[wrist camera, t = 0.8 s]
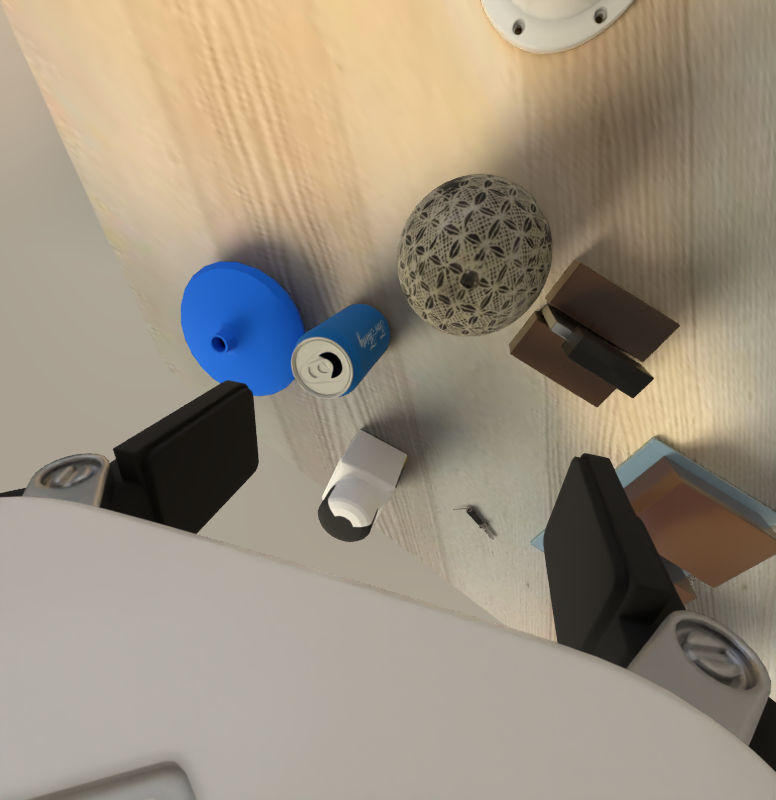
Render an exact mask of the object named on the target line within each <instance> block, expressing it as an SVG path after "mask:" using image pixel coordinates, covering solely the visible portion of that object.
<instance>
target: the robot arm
mask: <svg viewBox="0 0 776 800" xmlns="http://www.w3.org/2000/svg"><path fill="white" fill-rule="evenodd" d="M633 1H634V0H481V3H482V6H483V10H484V11H485V13H486V15H487V17H488V19H489V21H490V23H491V25H492V26H493V27H494V28H495V30H496V31H497V32H498V33H499V34H500V35H501V37H502V38H504V39H505V40H506V41H508V42H509V43H510V44H512V45H513V46H515V47H517V48H519V49H522V50H525V51H527V52H531V53H540V54H551V53H559V52H564V51H567V50H570V49H573V48H575V47H578V46H581V45H582V44H584V43H586V42H588V41H589V40H591V39H593V38H595V37H596V36H598V35H599V34H601V33H602V32H603V31H604V30H606V29H607V28H608V27H609V26H611V25H612V24H613V23H614V22H615V21H616V20H617V19H618V18H619V17H620V16H621V15H622V14H623V13H624V12H625V11H626V10H627V9H628V7H629V6H630V5H631V4H632V3H633ZM598 16H600V17H601V18H602V22H601V23H596V22H595V18H596V17H598ZM517 28H521V30H522V32H521V33H520V34H519V35H516V34H515V30H516V29H517ZM113 450H114V454H115V457H116V459H115V460H114V461H112V462H111V463H109V460H108V459H107V458H106V457H105V456H102V455H99V454H91V453H88V454H77V455H72V456H68V457H64V458H62V459H59V460H56V461H54V462H52V463H50V464H48V465H46V466H44V467H43V468H41V469H40V470H38V471H37V472H36V473H35V474H34V476H33V477H32V478H31V480H30V482H29V484H28V486H27V488H23V489H18V490H13V491H9V492H4V493H0V800H776V702H775V701H773V700H772V699H771V698H770V697H769V695H770V690H771V680H770V677H769V675H768V672H767V669H766V667H765V666H764V664H763V663H762V661H761V660H760V658H759V657H758V655H757V654H756V653H755V652H754V651H753V650H752V649H751V648H750V647H749V646H748V644H747V643H746V642H745V641H744V640H743V639H741V638H740V637H739V636H738V635H736V634H735V633H734V632H733V631H731V630H730V629H729V628H727V627H726V626H724V625H722V624H721V623H719V622H717V621H716V620H714V619H712V618H710V617H707V616H705V615H703V614H700V613H697V612H692V611H687V610H686V609H685V607H684V605H683V603H682V601H681V599H680V597H679V595H678V593H677V591H676V589H675V587H674V585H673V582H672V580H671V578H670V576H669V574H668V572H667V570H666V568H665V566H664V564H663V562H662V560H661V558H660V556H659V554H658V552H657V550H656V547H655V545H654V543H653V541H652V539H651V537H650V535H649V533H648V531H647V529H646V527H645V525H644V523H643V521H642V520H641V518H639V517H638V516H636V514H635V512H634V510H633V507H632V505H631V503H630V501H629V499H628V497H627V495H626V493H625V491H624V488H623V486H622V484H621V482H620V480H619V478H618V476H617V474H616V472H615V469H614V467H613V465H612V463H611V461H610V459H609V458H606V457H601V456H596V455H591V454H586V453H584V454H583V455H582V456H581V457H580V458H579V457H574V458H573V460H572V462H571V464H570V467H569V469H568V472H567V475H566V477H565V480H564V482H563V485H562V488H561V490H560V493H559V495H558V498H557V501H556V503H555V506H554V508H553V511H552V514H551V516H550V519H549V521H548V524H547V527H546V529H545V532H544V537H543V547H544V553H545V560H546V567H547V574H548V581H549V588H550V594H551V601H552V608H553V615H554V622H555V629H556V635H557V642H558V643H557V642H554V641H550V640H547V639H544V638H541V637H538V636H535V635H532V634H528V633H525V632H522V631H519V630H516V629H513V628H509V627H506V626H503V625H500V624H497V623H494V622H491V621H487V620H484V619H481V618H478V617H475V616H471V615H467V614H464V613H461V612H458V611H455V610H451V609H448V608H444V607H441V606H438V605H435V604H431V603H428V602H425V601H421V600H418V599H415V598H411V597H408V596H405V595H401V594H398V593H395V592H391V591H388V590H385V589H381V588H378V587H375V586H371V585H368V584H365V583H361V582H358V581H354V580H351V579H348V578H344V577H341V576H338V575H334V574H331V573H327V572H324V571H321V570H317V569H314V568H310V567H307V566H304V565H300V564H297V563H294V562H290V561H287V560H283V559H280V558H276V557H273V556H270V555H266V554H263V553H260V552H256V551H253V550H249V549H246V548H242V547H239V546H235V545H232V544H228V543H225V542H222V541H218V540H215V539H211V538H208V537H204V536H201V535H197V533H198V532H199V531H200V529H202V527H203V526H204V525H205V524H206V523H207V522H208V521H209V520H210V519H211V518H212V517H213V516H214V515H215V513H217V512H218V510H219V509H220V508H221V507H222V506H223V505H224V504H225V503H226V502H227V501H228V500H229V499H230V498H231V497H232V496H233V495H234V494H235V492H236V491H237V490H238V489H239V488H240V487H241V486H242V485H243V484H244V483H245V482H246V481H247V480H248V479H249V478H250V477H251V476H252V474H253V473H254V472H255V471H256V469H257V467H258V463H259V460H258V447H257V435H256V423H255V411H254V400H253V392H252V390H250V389H249V388H248V386H247V385H246V384H244V383H240V382H235V381H230V380H227V381H224V382H223V383H221V384H219V385H218V386H216V387H214V388H213V389H211V390H209V391H208V392H206V393H204V394H203V395H201V396H199V397H198V398H196V399H194V400H193V401H191V402H189V403H188V404H186V405H184V406H183V407H181V408H180V409H178V410H176V411H175V412H173V413H171V414H170V415H168V416H166V417H165V418H163V419H162V420H160V421H158V422H156V423H155V424H153V425H152V426H150V427H148V428H146V429H145V430H144V431H142V432H140V433H138V434H137V435H135V436H133V437H132V438H130V439H128V440H127V441H125V442H123V443H122V444H120V445H118V446H117V447H115V448H114V449H113Z"/></svg>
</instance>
